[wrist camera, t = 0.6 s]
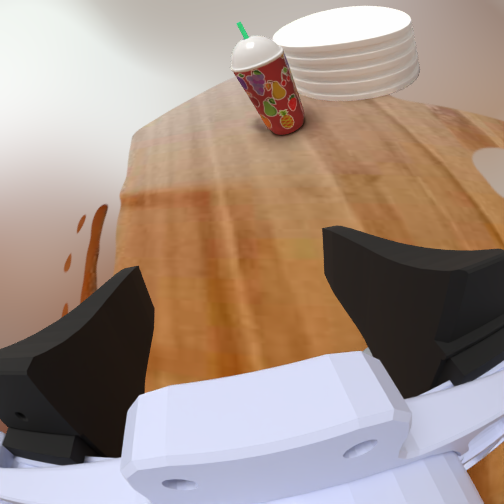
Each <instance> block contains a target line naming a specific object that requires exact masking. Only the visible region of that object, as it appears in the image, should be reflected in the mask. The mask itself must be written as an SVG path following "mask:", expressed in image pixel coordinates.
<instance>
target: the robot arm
mask: <svg viewBox="0 0 504 504" xmlns="http://www.w3.org/2000/svg"><path fill="white" fill-rule="evenodd" d="M322 232H323V250H324V273H325V276H326V278H327V280H328V282H329V285H330V287H331V289H332V290H333V292H334V294H335V296H336V297H337V299H338V300H339V301H340V303H341V304H342V306H343V307H344V309H345V310H346V312H347V313H348V315H349V316H350V318H351V319H352V320H353V322H354V323H355V325H356V326H357V328H358V329H359V331H360V333H361V334H362V336H363V338H364V339H365V341H366V343H367V345H368V347H369V350H370V352H371V354H372V356H373V357H372V356H370V355H368V354H366V353H364V352H362V351H354V352H345V353H335V354H325V355H321V356H318V357H314V358H310V359H306V360H302V361H298V362H294V363H290V364H286V365H282V366H278V367H273V368H269V369H264V370H259V371H255V372H250V373H245V374H239V375H234V376H229V377H223V378H217V379H211V380H205V381H198V382H192V383H184V384H177V385H170V386H167V387H164V388H161V389H158V390H155V391H151V392H148V393H145V394H144V392H145V377H146V370H147V364H148V358H149V353H150V347H151V342H152V336H153V331H154V306H153V304H152V301H151V298H150V296H149V293H148V291H147V288H146V285H145V283H144V280H143V277H142V274H141V272H140V269H139V266H134V267H130V268H125V269H123V270H121V271H120V272H118V273H117V274H116V275H114V276H113V277H112V278H111V279H109V280H108V281H107V282H106V283H105V284H104V285H102V286H101V287H100V288H99V289H98V290H97V291H95V292H94V293H93V294H92V295H91V296H89V297H88V298H87V299H86V300H85V301H83V302H82V303H81V304H80V305H79V306H77V307H76V308H75V309H73V310H72V311H71V312H69V313H68V314H67V315H65V316H64V317H62V318H61V319H59V320H58V321H56V322H55V323H53V324H51V325H50V326H48V327H46V328H44V329H43V330H41V331H39V332H38V333H36V334H34V335H32V336H30V337H28V338H26V339H24V340H22V341H19V342H17V343H15V344H13V345H11V346H8V347H5V348H2V349H0V419H1V420H2V422H3V423H4V424H6V425H7V427H8V430H7V433H6V434H4V433H3V432H1V431H0V504H484V502H483V501H482V499H481V497H480V495H479V493H478V491H477V489H476V487H475V486H474V484H473V482H472V480H471V478H470V477H469V475H468V473H467V471H466V470H468V469H469V468H471V467H472V466H473V465H475V464H476V463H477V462H479V461H480V460H481V459H483V458H484V457H485V456H486V455H488V454H489V453H490V452H491V451H493V450H494V449H495V448H496V447H498V446H499V445H500V444H501V443H502V442H503V441H504V250H502V249H489V250H475V251H457V250H441V249H431V248H424V247H418V246H412V245H407V244H402V243H398V242H394V241H391V240H387V239H383V238H380V237H377V236H373V235H370V234H367V233H364V232H361V231H357V230H354V229H351V228H347V227H343V226H332V227H327V228H322Z"/></svg>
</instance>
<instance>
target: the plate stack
mask: <svg viewBox="0 0 504 504" xmlns="http://www.w3.org/2000/svg"><path fill="white" fill-rule="evenodd" d="M273 41H274V42H275V43H276V44H277V45H278V46H281V47H282V48H283V49H284V53H285V56H286V59H287V62H288V64H289V67H290V70H291V73H292V76H293V79H294V82H295V85H296V88H297V91H298V92H299V93H300V94H302V95H304V96H307V97H310V98H314V99H319V100H327V101H353V100H363V99H370V98H375V97H380V96H384V95H387V94H389V95H390V94H392V93H395V92H398V91H400V90H402V89H404V88H406V87H408V86H409V85H411V84H412V83H413V82H414V81H415V80H416V79H417V77H418V76H419V72H420V69H419V63H418V54H417V51H416V42H415V39H414V31H413V29H412V22H411V18H410V16H409V15H407V14H406V13H404V12H402V11H399V10H396V9H392V8H387V7H378V6H354V7H344V8H337V9H331V10H326V11H322V12H318V13H315V14H311V15H308V16H305V17H302V18H300V19H298V20H295V21H293V22H291V23H289V24H287V25H285V26H284V27H282V28H281V29H280V30H278V31H277V32H276V33H275V35H274V36H273Z"/></svg>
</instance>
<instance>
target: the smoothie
mask: <svg viewBox="0 0 504 504" xmlns="http://www.w3.org/2000/svg"><path fill="white" fill-rule="evenodd" d="M237 25H238V28H239V29H240V31H241V33H242V35H243V37H244V39H242V40H241V41H239V42H238V43H237V44H236V46H235V47H234V49H233V51H232V55H231V64H232V65H231V67H230V68H231V70H232V71H233V72H234V74H235V76H236V77H237V79H238V80H239V82H240V84H241V85H242V87H243V88H244V90H245V92H246V93H247V95H248V96H249V98H250V100H251V101H252V103H253V105H254V106H255V108H256V110H257V111H258V113H259V115H260V116H261V118H262V120H263V121H264V123H265V125H266V127H267V128H268V129H270V130H272V132H274V133H275V134H279V135H284V134H289V133H292V132H294V131H296V130H297V129H299V128H300V127H301V126H302V124H303V118H304V110H303V107H302V104H301V101H300V98H299V94H298V91H297V88H296V85H295V82H294V79H293V76H292V73H291V70H290V67H289V64H288V62H287V59H286V56H285V53H284V49H283V48H282V47H281V46H278V45H277V44H276V43H275V42H274V41H273V40H271V39H269V38H267V37H265V36H259V35H254V36H248V35H247V33H246V31H245V29H244V27H243V25H242V24H241V22H239V23H237Z"/></svg>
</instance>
